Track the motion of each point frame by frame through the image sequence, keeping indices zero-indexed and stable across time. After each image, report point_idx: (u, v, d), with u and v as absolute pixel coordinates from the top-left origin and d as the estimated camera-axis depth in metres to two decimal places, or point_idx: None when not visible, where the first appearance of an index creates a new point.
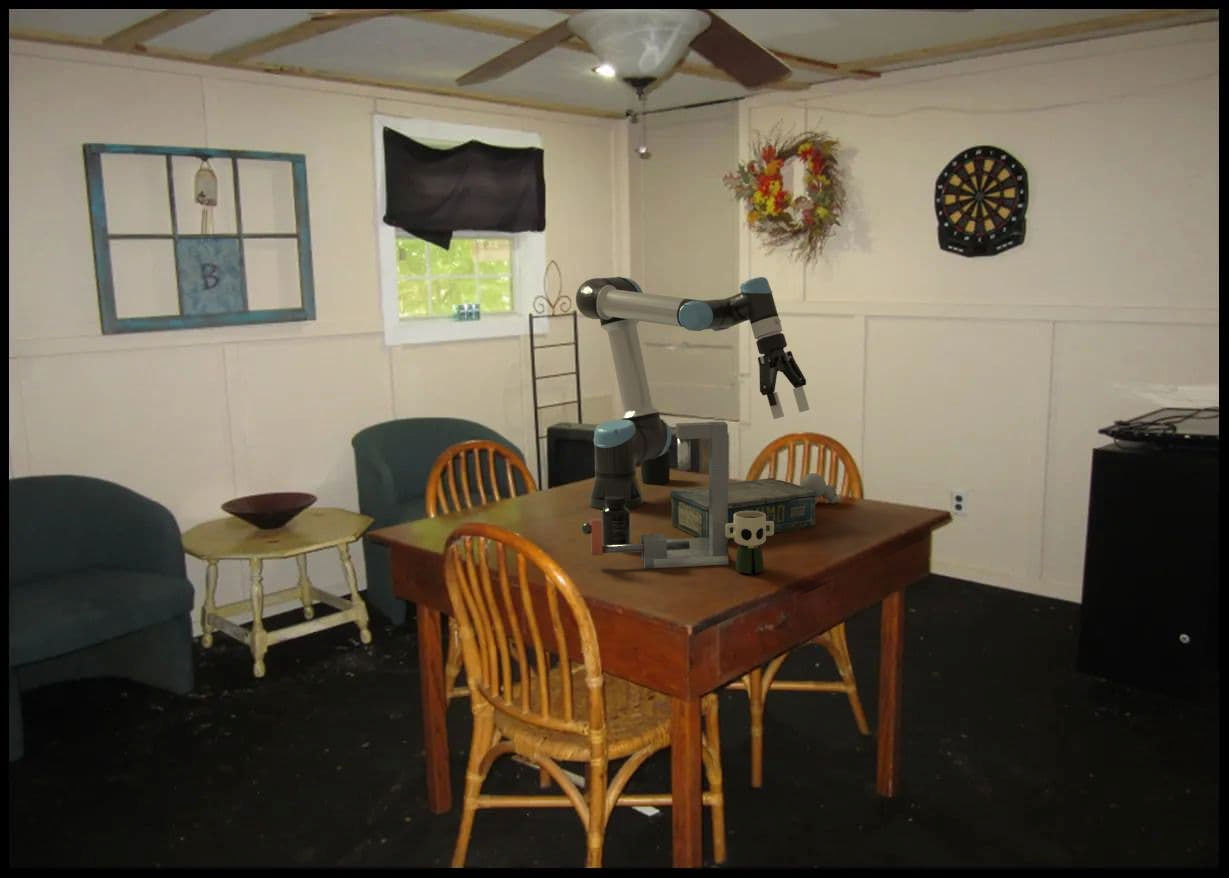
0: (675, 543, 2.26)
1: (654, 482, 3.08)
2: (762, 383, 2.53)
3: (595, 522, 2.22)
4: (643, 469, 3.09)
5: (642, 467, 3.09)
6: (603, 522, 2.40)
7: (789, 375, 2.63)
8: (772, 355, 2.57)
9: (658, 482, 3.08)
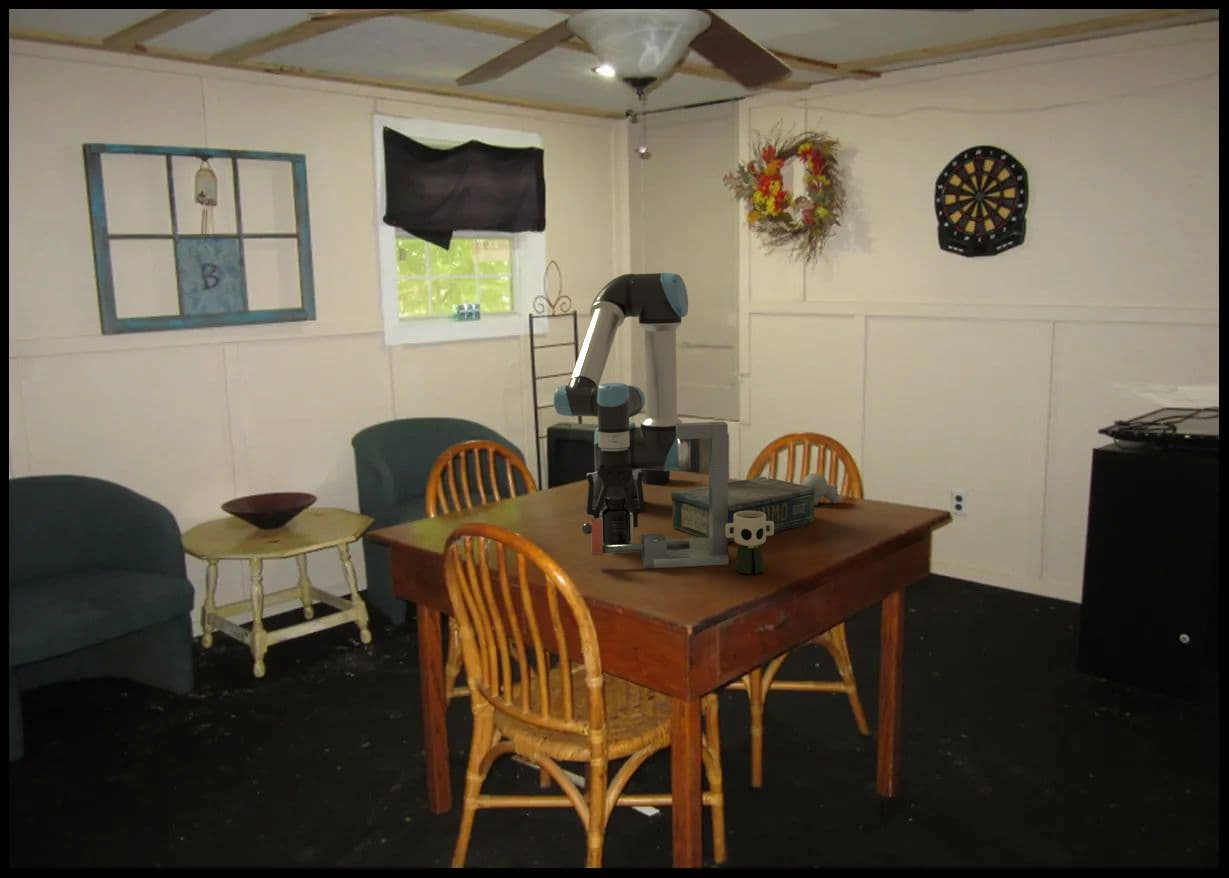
0: (675, 543, 2.26)
1: (654, 482, 3.08)
2: None
3: (595, 522, 2.22)
4: (643, 469, 3.09)
5: None
6: (603, 522, 2.40)
7: None
8: (601, 471, 2.38)
9: (658, 482, 3.08)
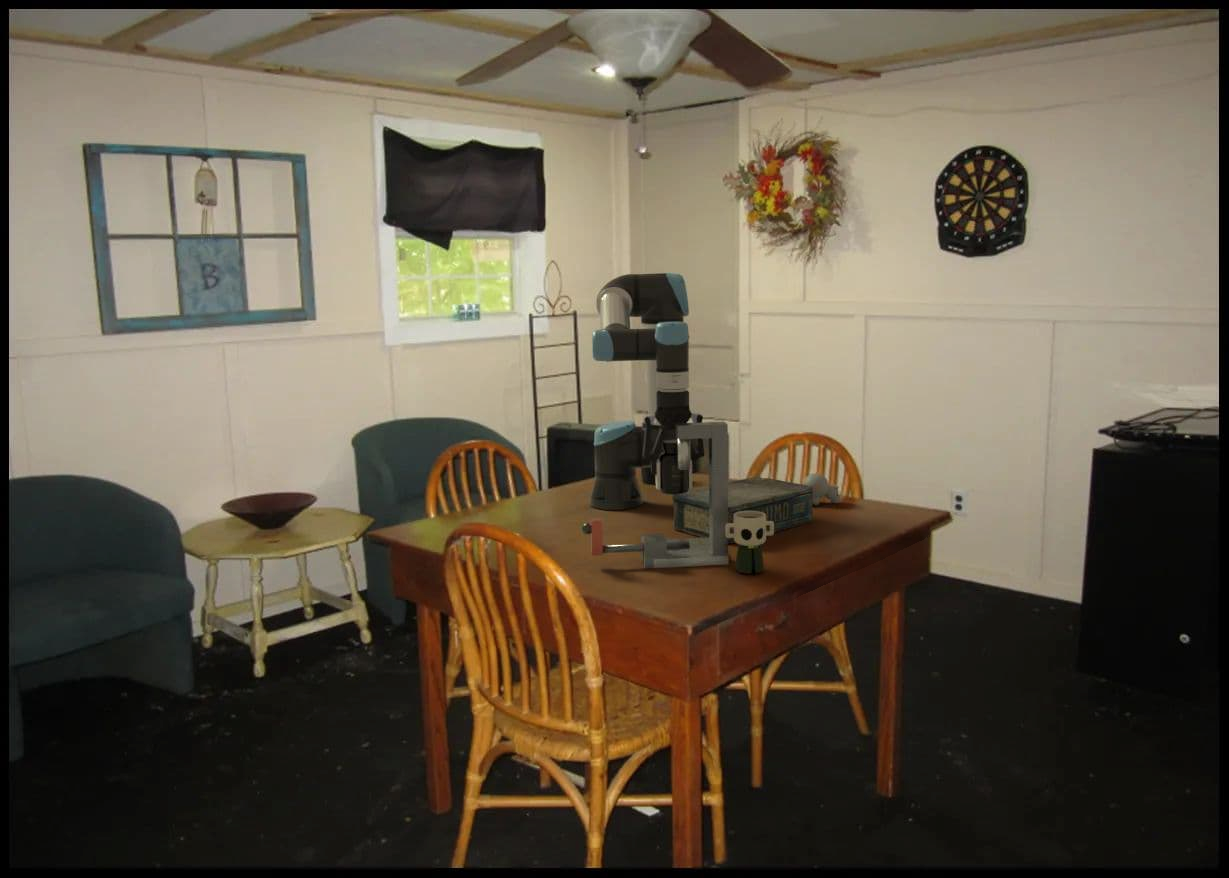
0: (675, 543, 2.26)
1: (654, 482, 3.08)
2: (643, 448, 2.30)
3: (595, 522, 2.22)
4: (643, 469, 3.09)
5: (642, 467, 3.09)
6: (661, 467, 2.30)
7: None
8: (659, 413, 2.28)
9: None
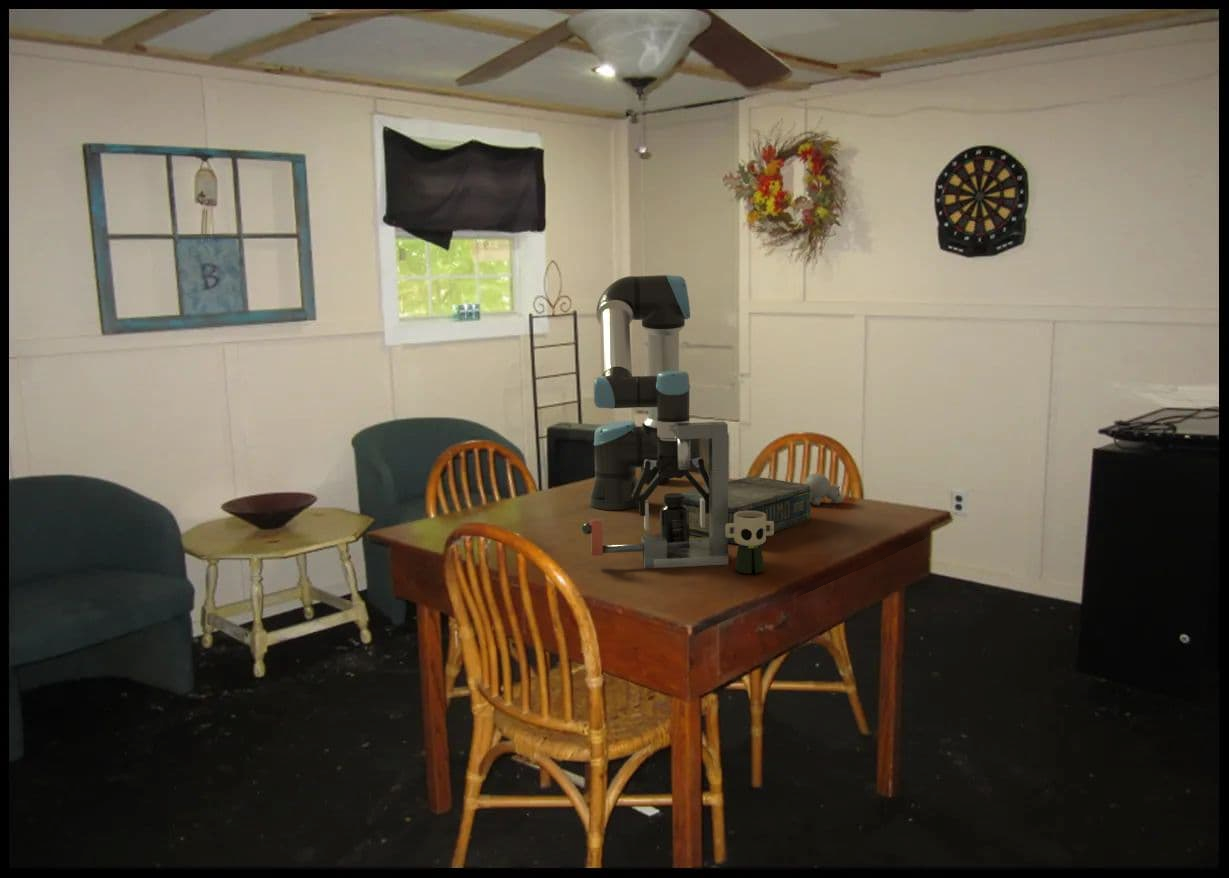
0: (675, 543, 2.26)
1: None
2: (634, 489, 2.32)
3: (595, 522, 2.22)
4: None
5: (642, 467, 3.09)
6: (662, 521, 2.32)
7: None
8: (661, 462, 2.30)
9: None
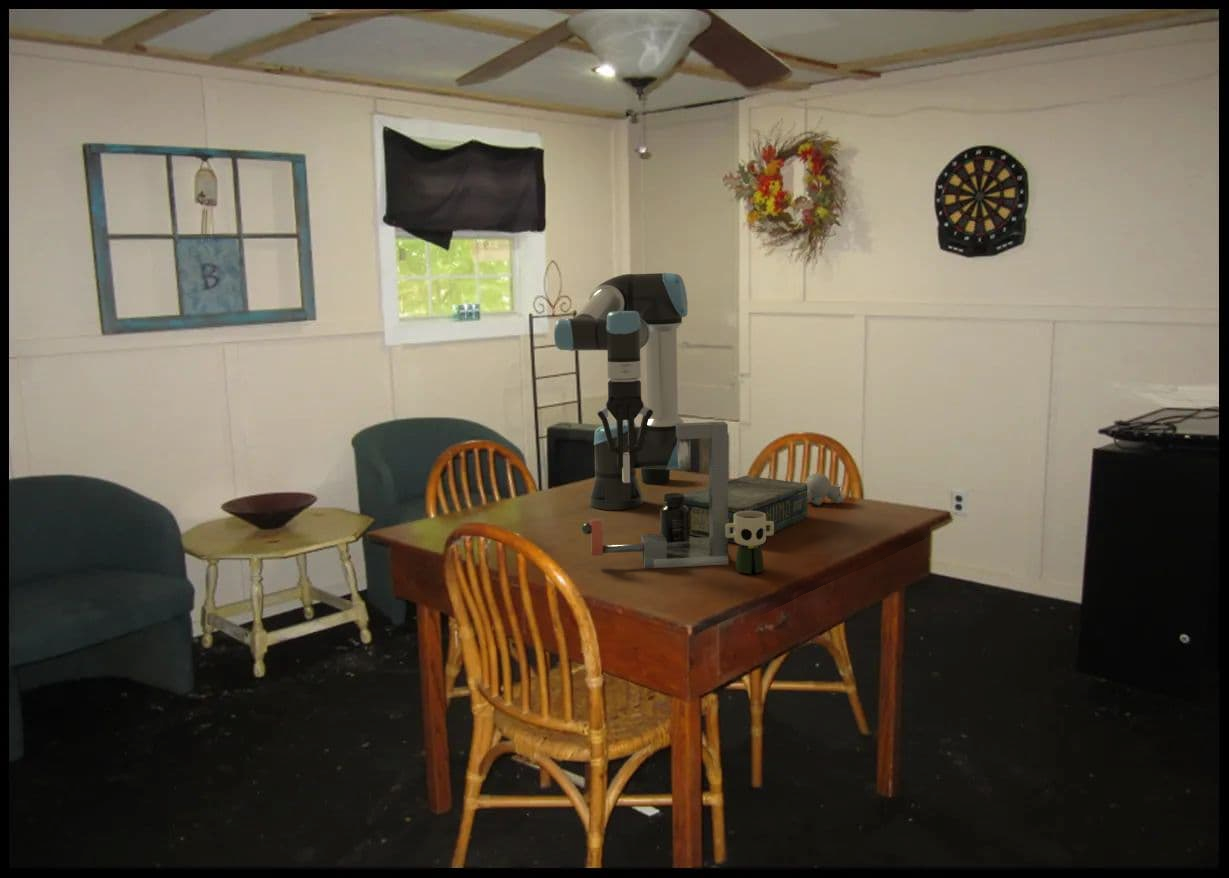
0: (675, 543, 2.26)
1: (654, 482, 3.08)
2: (607, 442, 2.28)
3: (595, 522, 2.22)
4: (643, 469, 3.09)
5: None
6: (662, 521, 2.32)
7: (628, 432, 2.28)
8: (610, 404, 2.25)
9: (658, 482, 3.08)
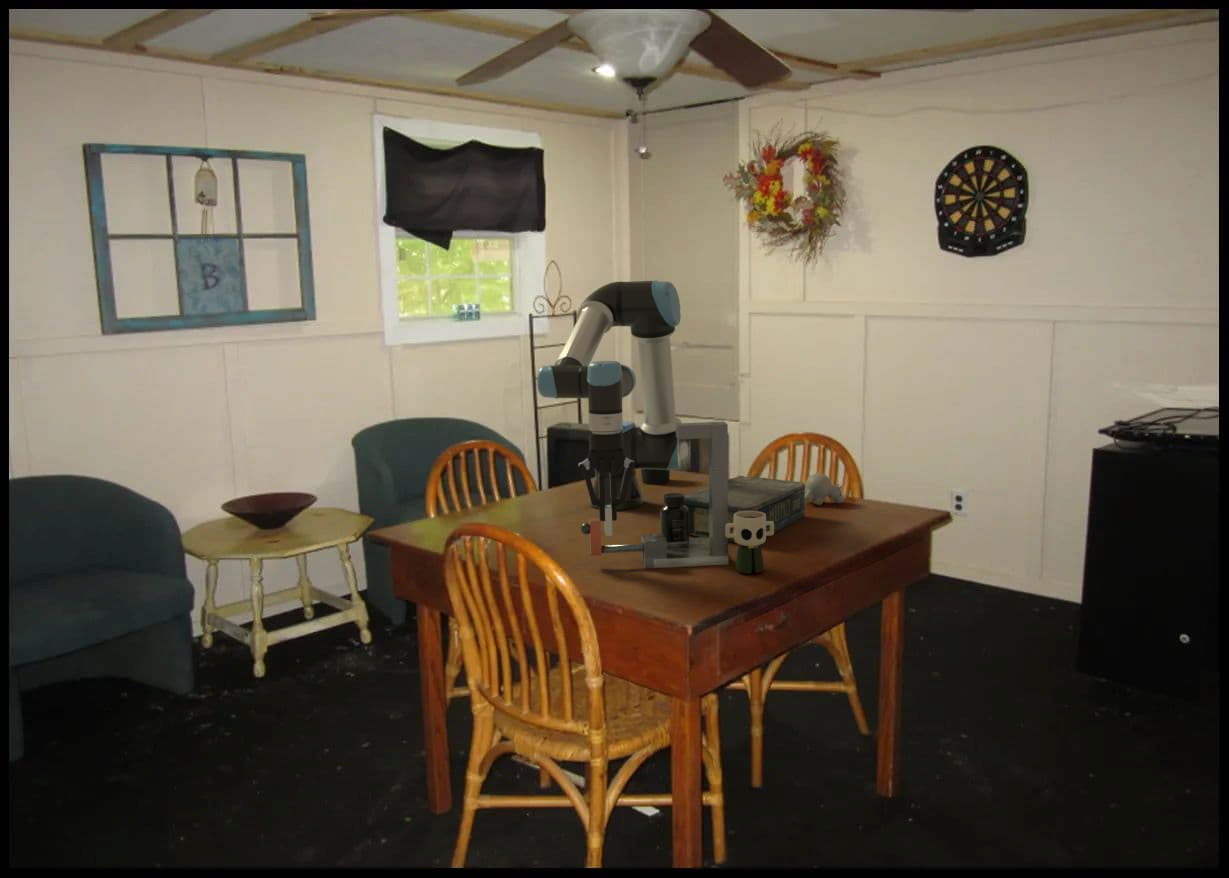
0: (674, 543, 2.26)
1: (654, 482, 3.08)
2: (589, 495, 2.23)
3: (594, 522, 2.22)
4: (643, 469, 3.09)
5: None
6: (662, 521, 2.32)
7: (610, 484, 2.22)
8: (591, 456, 2.20)
9: (658, 482, 3.08)
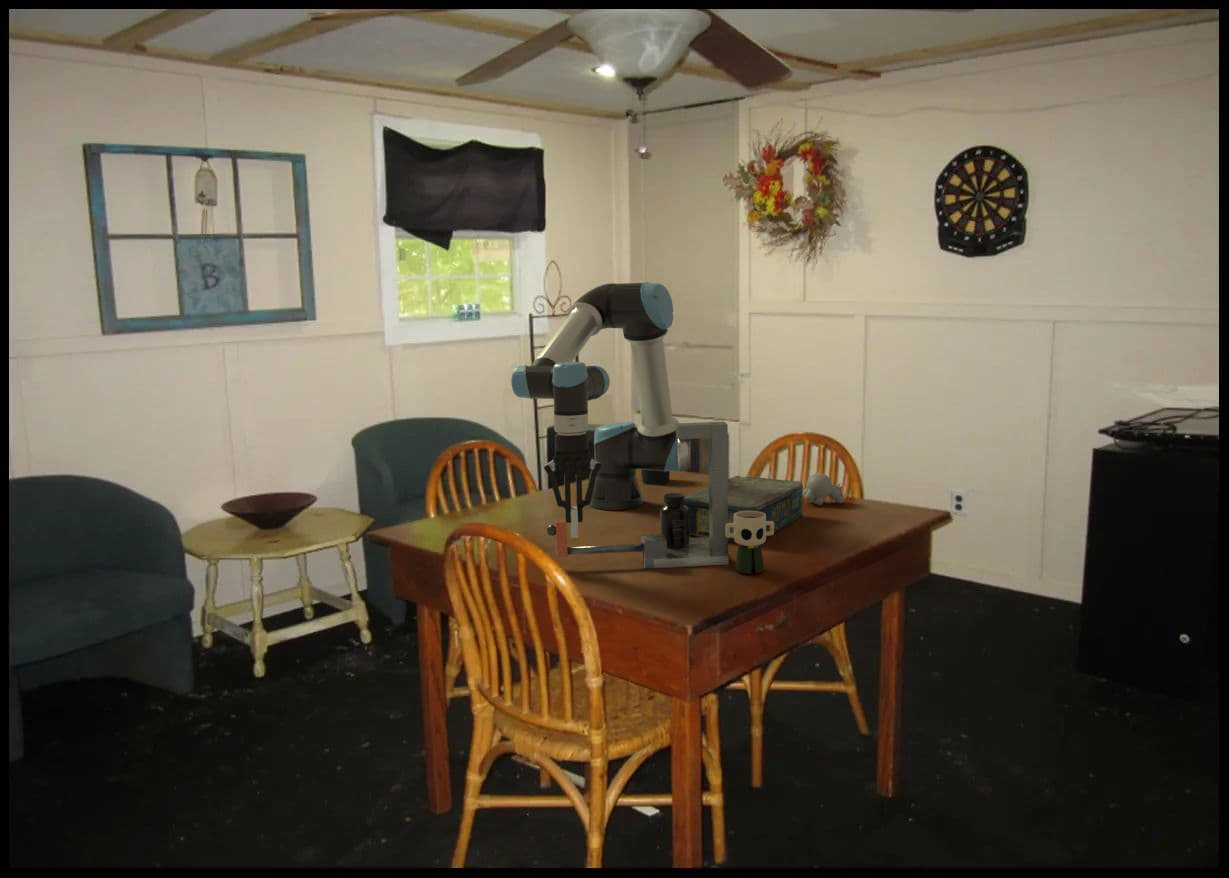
0: (640, 545, 2.25)
1: (654, 482, 3.08)
2: None
3: (560, 524, 2.22)
4: None
5: None
6: (662, 521, 2.32)
7: None
8: (557, 458, 2.19)
9: (658, 482, 3.08)
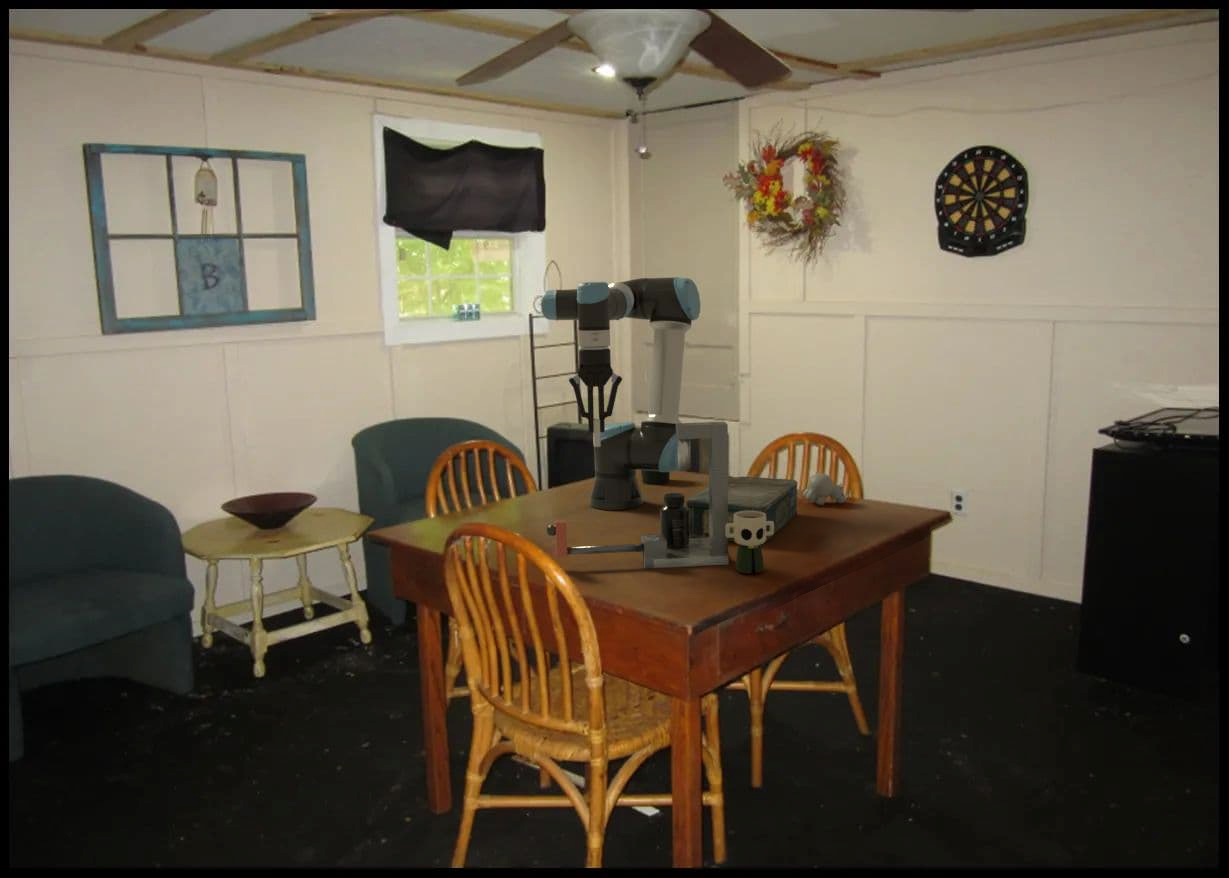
0: (640, 545, 2.25)
1: (654, 482, 3.08)
2: (579, 408, 2.38)
3: (559, 524, 2.22)
4: None
5: None
6: (662, 521, 2.32)
7: (598, 398, 2.38)
8: (581, 371, 2.36)
9: (658, 482, 3.08)
